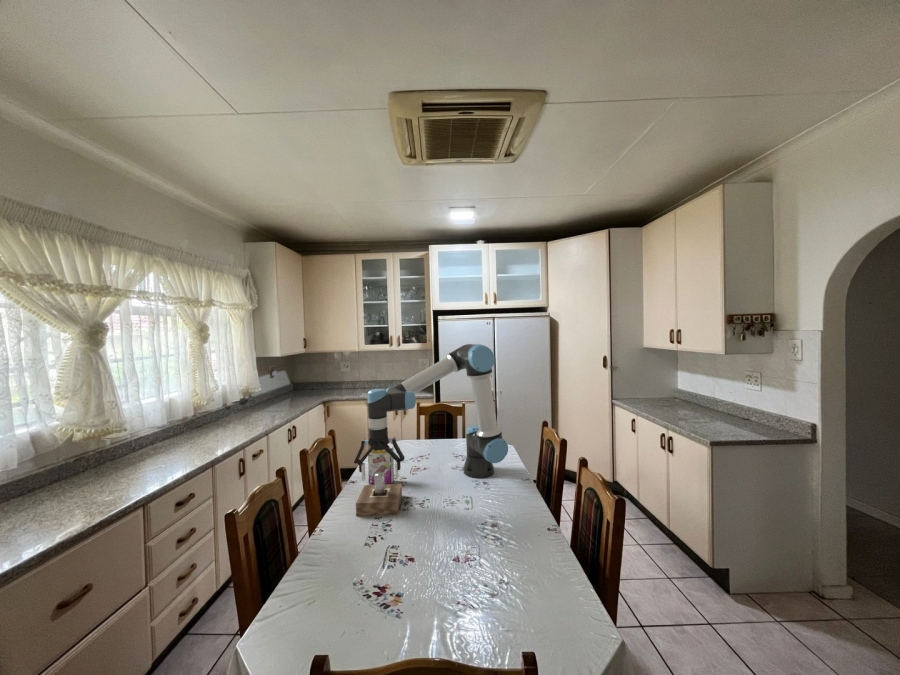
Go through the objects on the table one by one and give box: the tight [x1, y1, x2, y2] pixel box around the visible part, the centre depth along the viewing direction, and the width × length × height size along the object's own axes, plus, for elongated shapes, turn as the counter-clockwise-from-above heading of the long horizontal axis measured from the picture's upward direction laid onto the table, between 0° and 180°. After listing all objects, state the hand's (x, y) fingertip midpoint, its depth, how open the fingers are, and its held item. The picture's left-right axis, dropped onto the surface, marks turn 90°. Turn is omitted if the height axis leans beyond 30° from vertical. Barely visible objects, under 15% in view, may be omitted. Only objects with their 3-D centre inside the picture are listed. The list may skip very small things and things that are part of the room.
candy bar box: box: [367, 446, 395, 485], centre depth 167 cm, size 11×5×16 cm, turn 84°
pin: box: [374, 472, 385, 496], centre depth 145 cm, size 4×4×12 cm
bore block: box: [355, 483, 403, 517], centre depth 145 cm, size 16×16×5 cm
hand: (380, 478), depth 145 cm, fingers open, 13 cm apart
